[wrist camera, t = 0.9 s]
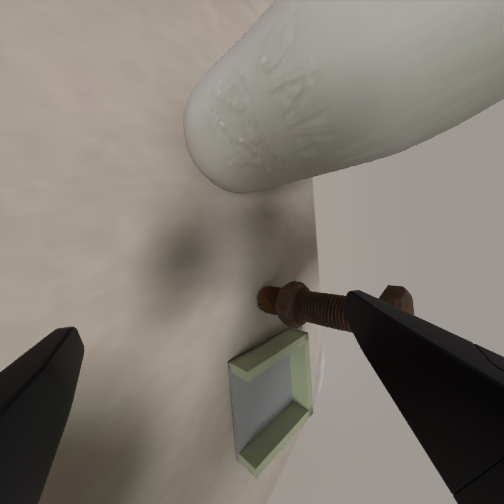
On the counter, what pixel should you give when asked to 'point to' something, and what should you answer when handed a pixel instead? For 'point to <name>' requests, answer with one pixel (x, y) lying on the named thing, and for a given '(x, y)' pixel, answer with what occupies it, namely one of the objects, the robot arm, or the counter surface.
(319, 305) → the bolt
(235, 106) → the glass bottle
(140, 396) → the counter surface
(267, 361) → the green square tray
